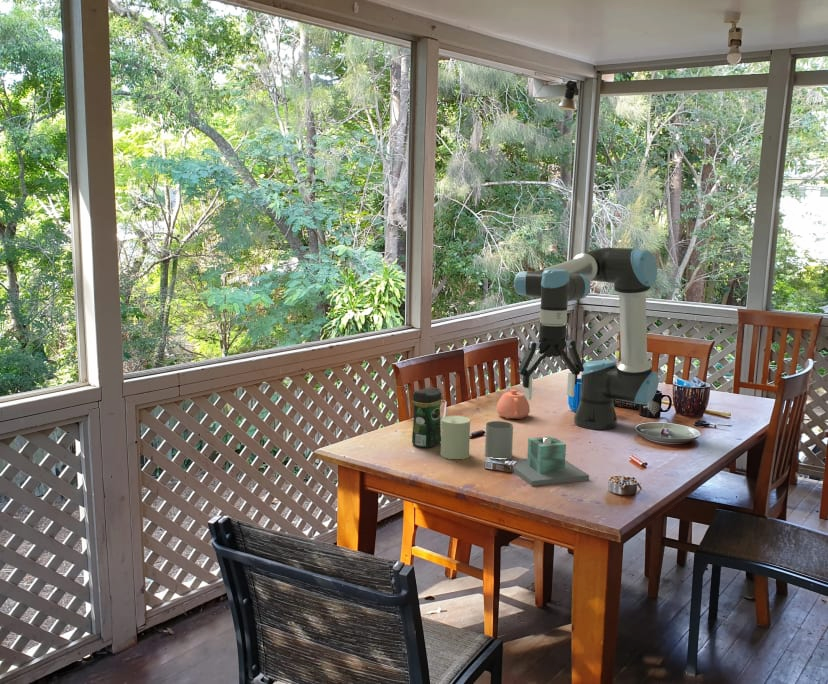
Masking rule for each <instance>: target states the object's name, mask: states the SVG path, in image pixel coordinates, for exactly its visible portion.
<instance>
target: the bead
mask: <svg viewBox="0 0 828 684" xmlns="http://www.w3.org/2000/svg"><path fill="white" fill-rule="evenodd" d="M543 437H544V436H542V437H541V436H540V437H529V438H528V440H527V456H526V457H527V458H526V459H527V465H529V466H530V467H531V468H533V469H534V470H536V471H537V472H538V473H548V472H558V471H565V460H566V452H567V450H566V449H567V448H566V447H567V444H566V443H565V442H563V441H561V440H560V439H558V438H557V437H555V436H553V435H552V436H550V437H551V438H552V440H551V444H543Z"/></svg>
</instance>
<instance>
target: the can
mask: <svg viewBox="0 0 828 684" xmlns="http://www.w3.org/2000/svg"><path fill="white" fill-rule="evenodd" d="M440 428H441V442H440V453H439V456H440V455H441V456H442V457H441V456H440V457H441V458H443V457H444V458H443V459H446V458H448V459H447V460H451V459H462V460H466V459H468V458H470V456H471V454H470V439H471V438H470V436H471V433H470V432H471V419H470V418H469V417H466V416H462V415H447V416H443V417H440ZM465 458H466V459H465Z"/></svg>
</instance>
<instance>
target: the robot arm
mask: <svg viewBox="0 0 828 684" xmlns="http://www.w3.org/2000/svg"><path fill="white" fill-rule="evenodd" d="M657 275H658V264H657V259H656V257H655V255H654V254H653V253H652V251H650V250H648V249H642V248H638V247H637V248H628V247H610V246H609V247H608V246H607V247H601V248H596V249H595V248H594V249H592V250H588V251H585V252H581V253H579V254H576V255H575V256H574V257H573V259H570V260H567V261H563V262H560V263H557V264H554V265H551V266H548V267H547V266H546V267H545V268H542V269H538V270H535V271H530V270H522V271H519V272H517V273H516V275H515V276H514V279H513V289H514V291H515V293H516V294H517V295H519V296H524V297H532V298H540V311H539V313H540V314H539V322H540V325H539V330H538V331H539V333H538V335H539V336H538V337H539V340H538V342H537V341H532V340H530V341H528V345H527V350H526V352H525V354H524V356H523V358H522V360H521V362H520V364H519V365H518V367H517V370H516V373H517V374H519V375H521V376H522V387H523V388H525V389H524V396H525V398H526V399H527V400H529V401H530V400H531V401H532V397H533V395H532V394H533V376H531V375H532V374H533V373H534V372H535V370H536V369H537V367H538V366H539V365H540V364H541V363H542V361H543V360H545V359H546V358H553V357H555V358H556V357H558V358H560V359H561V360H562V362H563V363H564V364H565V366H566V367H567V368H568V370H569V371H570V372H568V373H567V374H568V375H567V387H566V390H567V392H566V395H567V396H569V397H571V398H575V387H576V386H575V385H577V384H578V376H579V375H580V376H581V377H580V382H581V383H580V399H579V400H580V401H579V404H578V405H577V410H576V411H575V414H574V418H573V419H574V420H573V423H574V425H576V426H578V427H581V428H586V429H590V430H613V429H615V428H616V427H617V426H618V417H617V413H616V410H615V405H614V401H615V400H617V401H620V402H629V403H632V404H637V405H638V404H639V405H648V404H649V403H651V401H653V399H654V397H655V395H656V393H657V391H658V388H659V381H660V380H659V379H660V376H659V374H658V372H657V371H655V370H654V371H653V367H652V366H653V365H652V363H651V362H650V361H649V360H648V341H647V339H648V337H647V335H648V334H647V328H648V327H647V293H648V292H649V291H650V290H651V288H652V287H651V286H654V284H655V283H656V281H657V279H658V278H657ZM593 281H594V282H599V283H600V282H602V283H609V284H613V290H614V292H615V293H616V294H617V295H618V299H619V301H618V302H619V304H618V305H619V306H618V307H619V330H620V331H619V332H620V333H619V334H620V335H619V336H620V337H619V338H620V341H619V342H620V361H619V362H618V363H617V362H616V360H612V359H611V360H610V359H598V360H590V361H586V362H584V363H582V360H581V358H580V355H579V353H578V350H577V347H576V346H577V344H576V341H575V340H573V339H568V340H566V338H567V326H566V324H567V321H568V320H567V319H568V316H567V315H568V304H569V303H568V302H573V301H580V300H581V299H585V298H586V297H588V295H589V293H590V291H591V289H592V288H591V282H593ZM565 348H567V349H568V352H569V354H570V357H571V358H570V357H569V356H568V354H567V353H566V351H565ZM538 349H539V350H538ZM536 350H537V352H536ZM535 353H536V354H535ZM534 355H535V356H534ZM571 359H572V361H571Z"/></svg>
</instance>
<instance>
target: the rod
mask: <svg viewBox="0 0 828 684" xmlns="http://www.w3.org/2000/svg"><path fill="white" fill-rule="evenodd" d="M542 437H543V444H551V440H552V438H551V436H542Z"/></svg>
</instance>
